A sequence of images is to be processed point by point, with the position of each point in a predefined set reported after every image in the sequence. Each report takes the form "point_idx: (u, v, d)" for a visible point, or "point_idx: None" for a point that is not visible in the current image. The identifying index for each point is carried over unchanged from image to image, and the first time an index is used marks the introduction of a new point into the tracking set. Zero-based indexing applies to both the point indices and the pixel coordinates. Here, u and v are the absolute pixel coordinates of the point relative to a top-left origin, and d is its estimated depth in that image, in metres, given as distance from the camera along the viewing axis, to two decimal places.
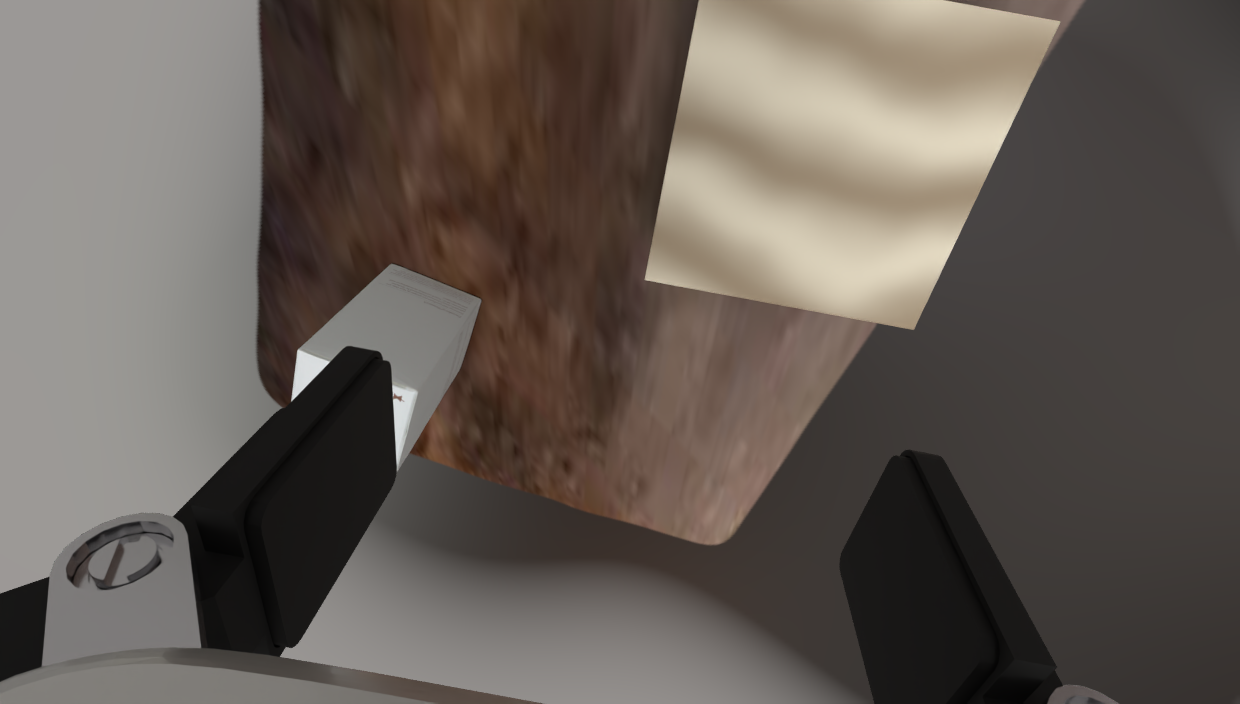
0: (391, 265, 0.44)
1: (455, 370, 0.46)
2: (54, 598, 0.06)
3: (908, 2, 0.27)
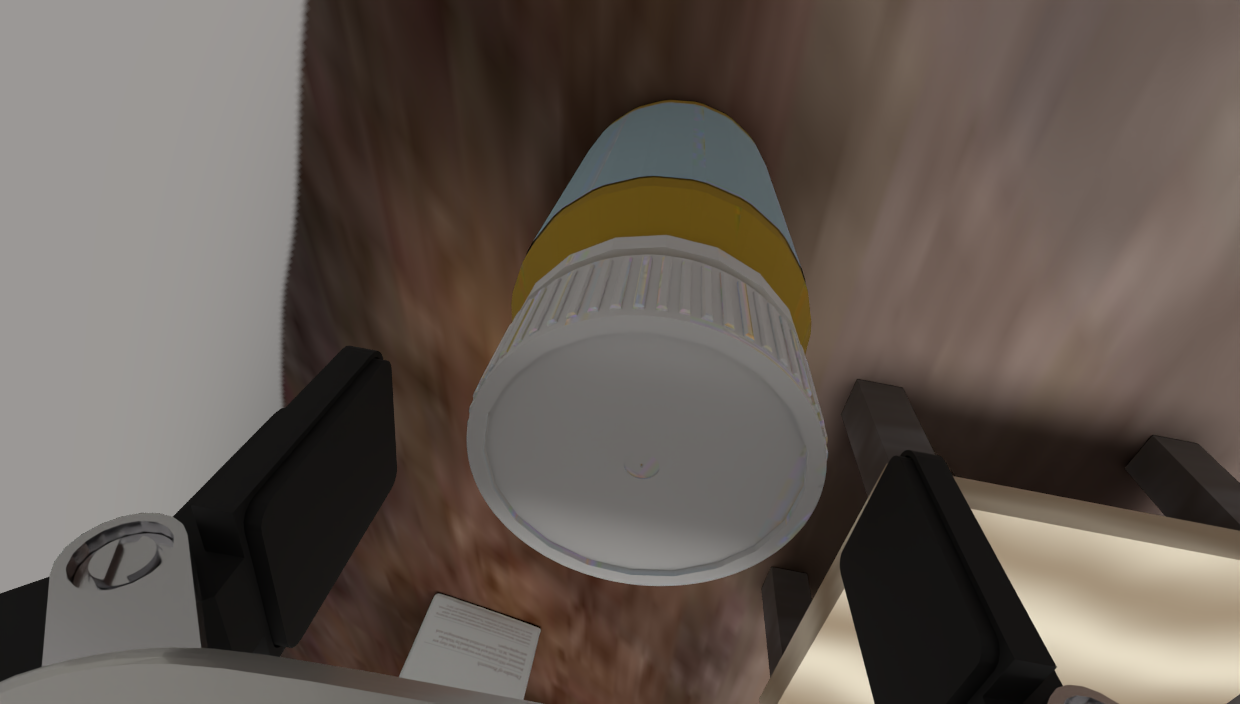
0: (436, 598, 0.38)
1: None
2: (54, 598, 0.06)
3: (1173, 555, 0.20)
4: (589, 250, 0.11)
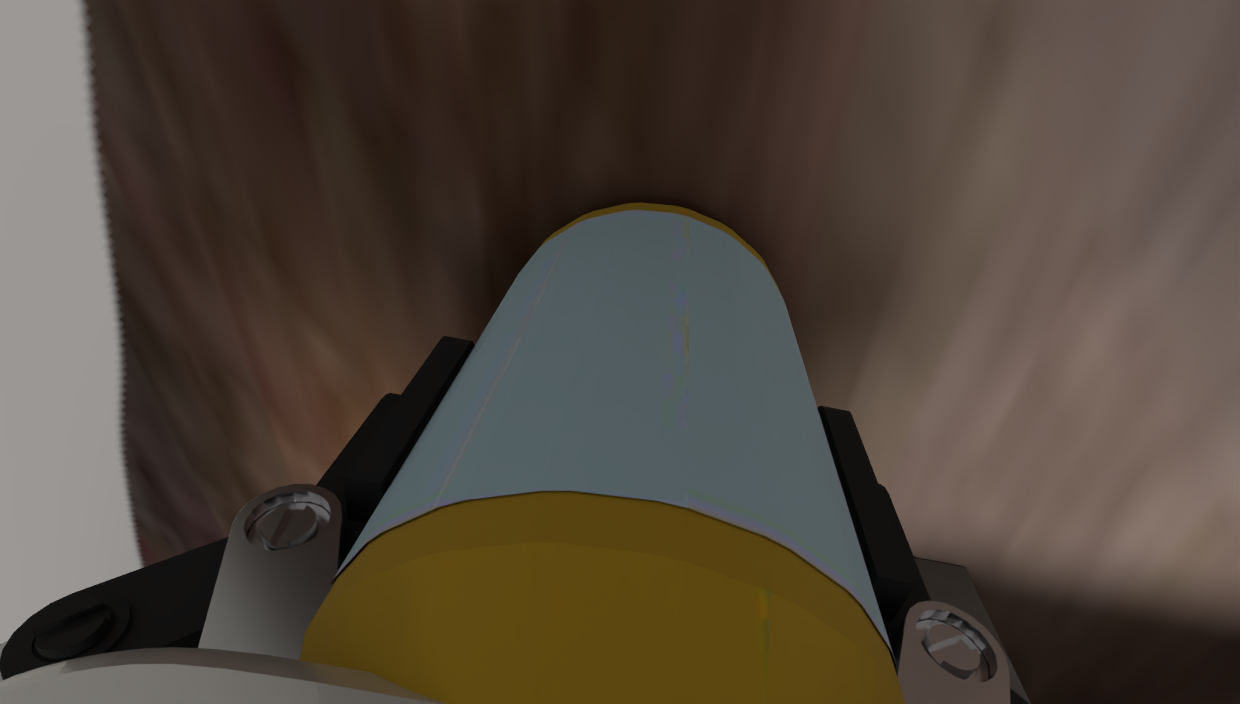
0: None
1: None
2: (241, 556, 0.07)
3: None
4: None
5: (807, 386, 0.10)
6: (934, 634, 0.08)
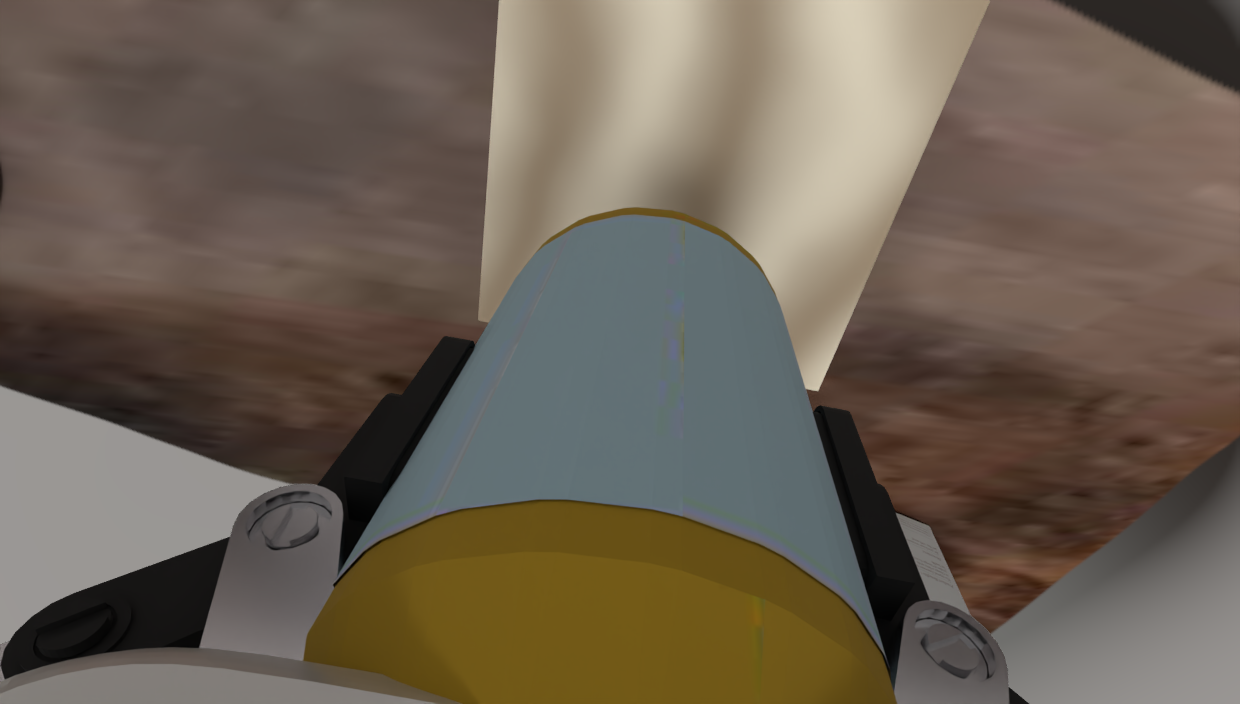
0: None
1: (922, 546, 0.39)
2: (242, 555, 0.07)
3: (500, 111, 0.23)
4: None
5: (802, 391, 0.10)
6: (933, 634, 0.08)
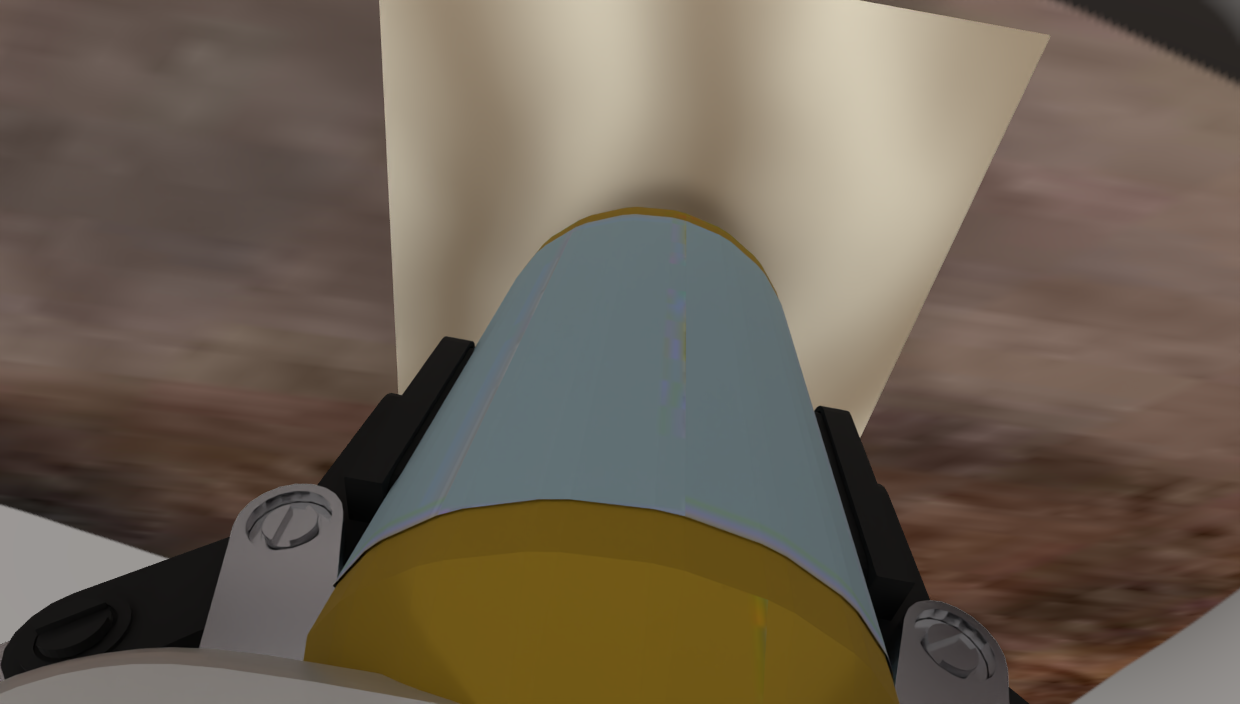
0: None
1: None
2: (243, 555, 0.07)
3: (399, 196, 0.17)
4: None
5: (804, 391, 0.10)
6: (933, 634, 0.08)
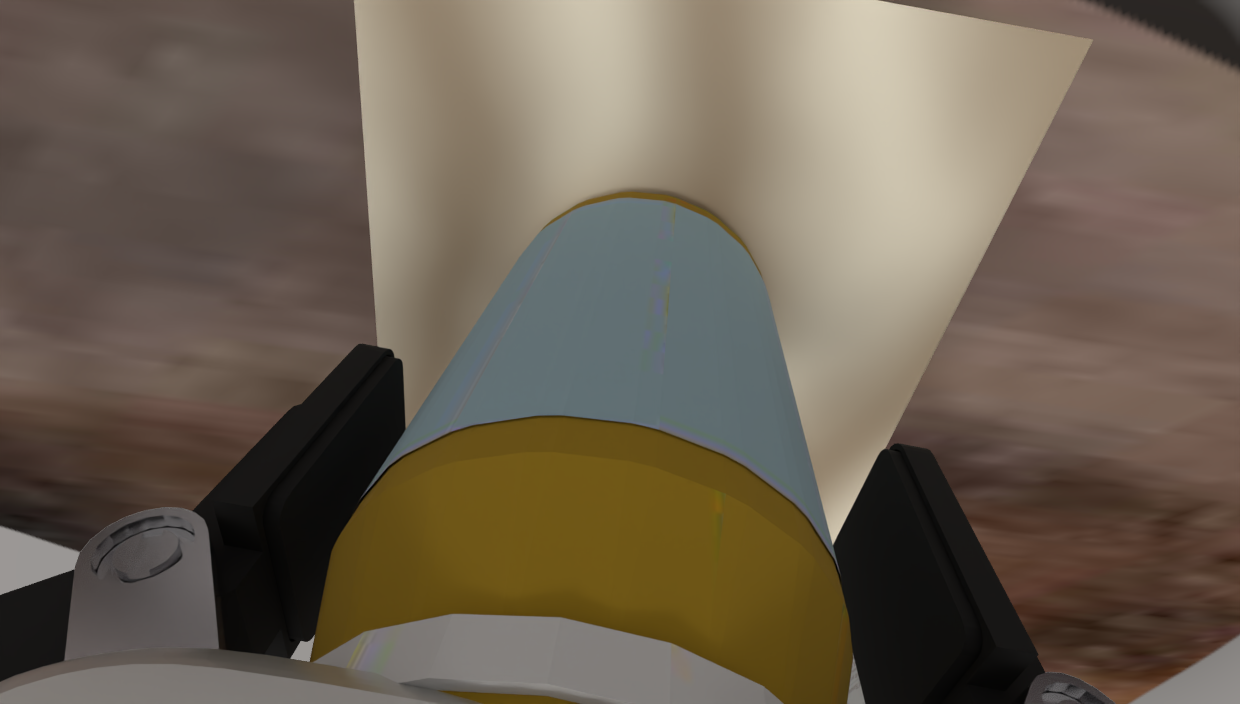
0: None
1: None
2: (80, 590, 0.06)
3: (379, 212, 0.16)
4: (395, 645, 0.05)
5: (779, 353, 0.11)
6: None
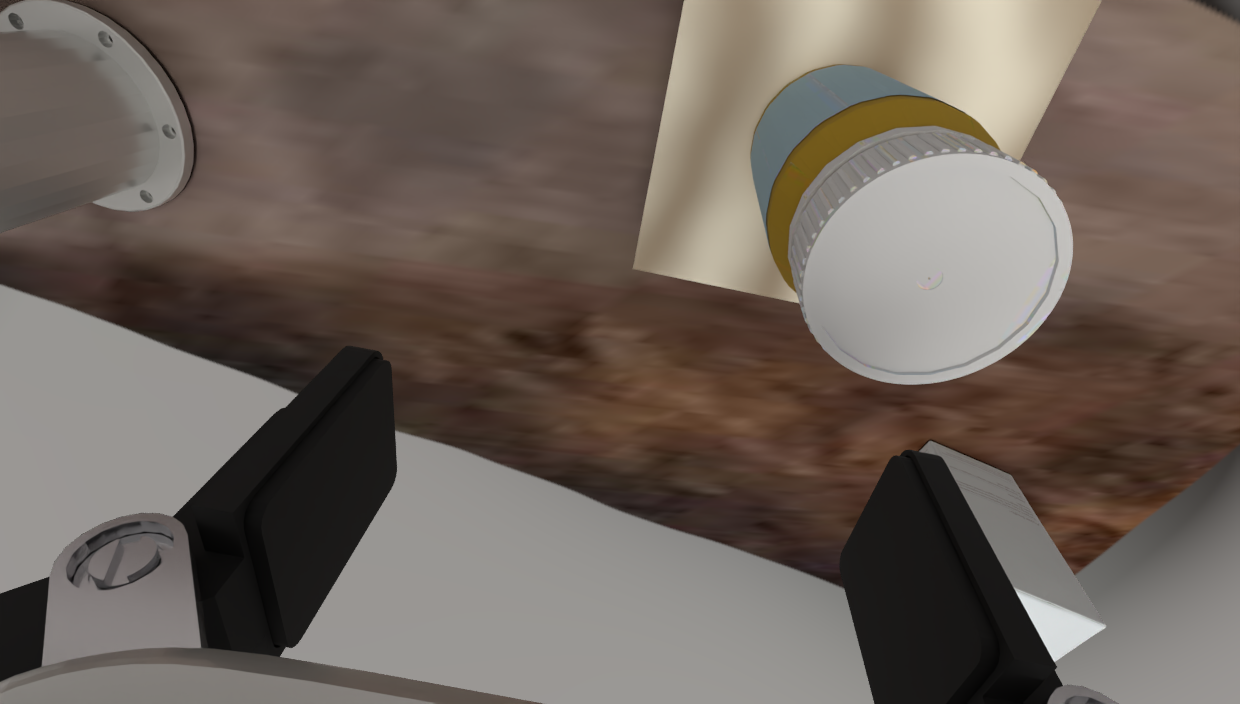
0: None
1: (1007, 490, 0.42)
2: (54, 598, 0.06)
3: (675, 82, 0.27)
4: (877, 136, 0.16)
5: None
6: None
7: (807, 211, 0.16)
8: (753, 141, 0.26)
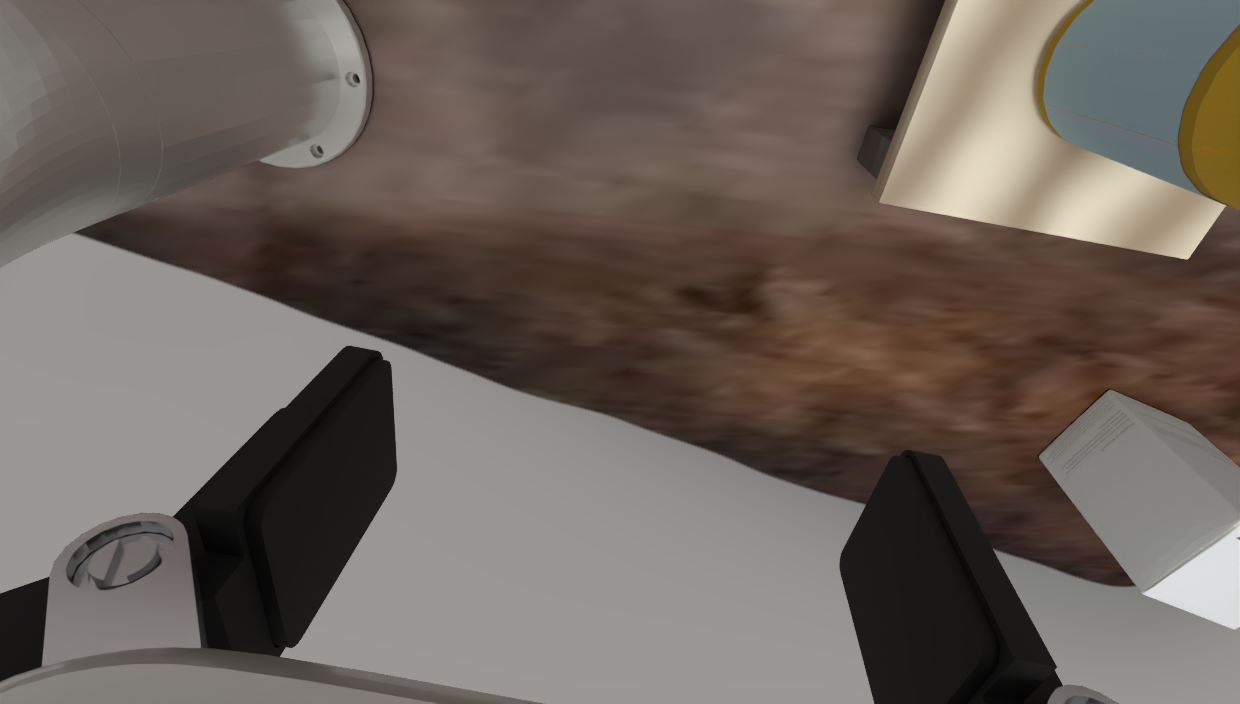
0: (1041, 458, 0.46)
1: (1195, 436, 0.41)
2: (54, 598, 0.06)
3: None
4: None
5: None
6: None
7: None
8: (1055, 54, 0.25)
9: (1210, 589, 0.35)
